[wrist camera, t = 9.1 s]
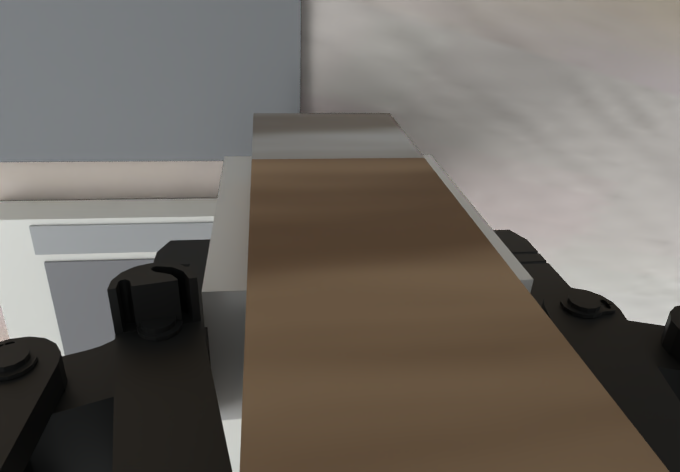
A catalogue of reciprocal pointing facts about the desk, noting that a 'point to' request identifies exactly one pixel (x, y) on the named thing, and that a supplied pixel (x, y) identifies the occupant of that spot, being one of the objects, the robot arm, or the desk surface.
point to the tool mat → (143, 77)
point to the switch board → (87, 266)
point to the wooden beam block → (399, 323)
